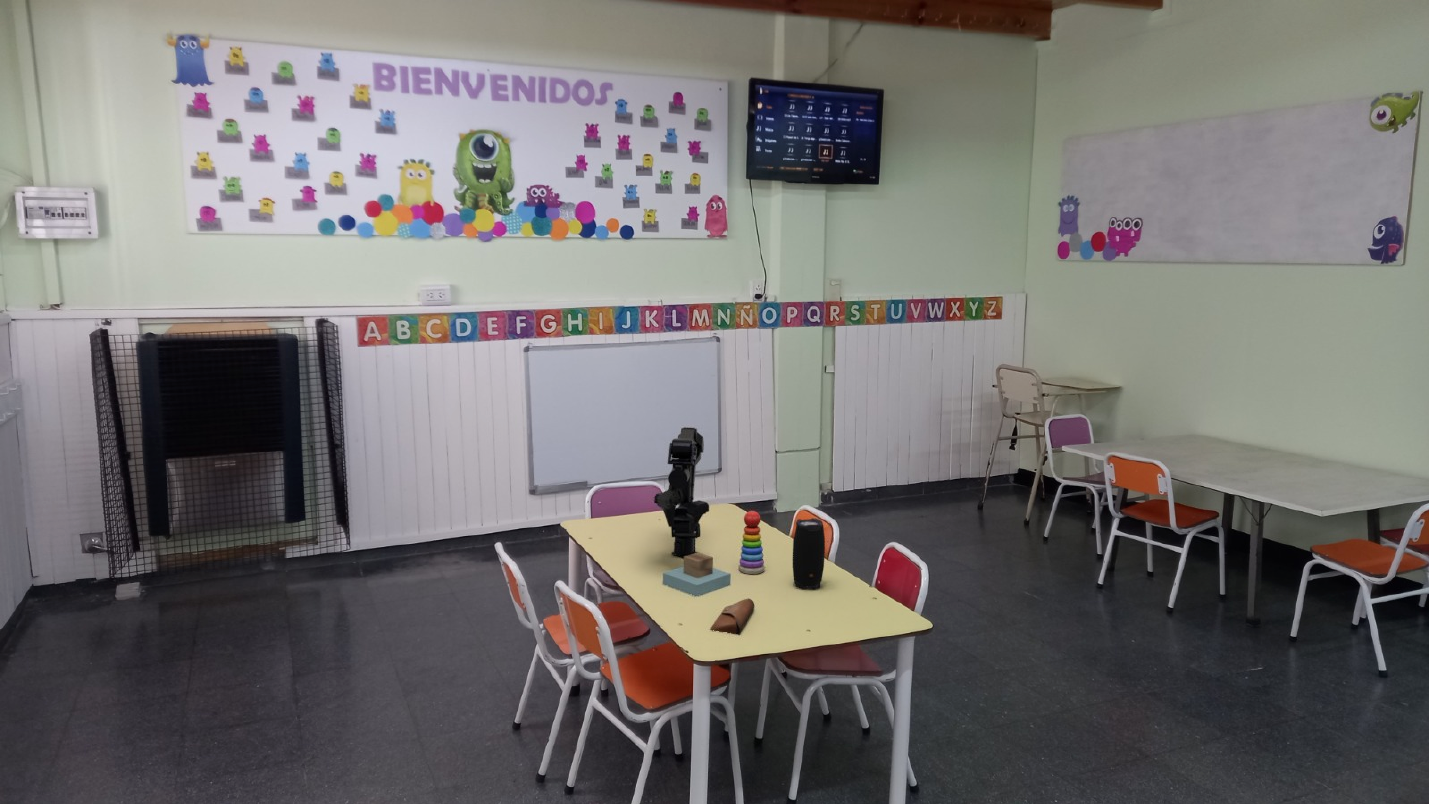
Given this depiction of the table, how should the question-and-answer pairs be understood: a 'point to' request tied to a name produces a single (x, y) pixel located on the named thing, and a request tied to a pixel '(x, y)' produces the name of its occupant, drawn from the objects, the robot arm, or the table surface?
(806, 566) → the portable speaker
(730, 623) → the sunglasses case
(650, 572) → the table surface
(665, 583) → the teal base box
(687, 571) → the walnut block
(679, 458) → the robot arm
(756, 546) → the stacking toy
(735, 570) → the table surface
